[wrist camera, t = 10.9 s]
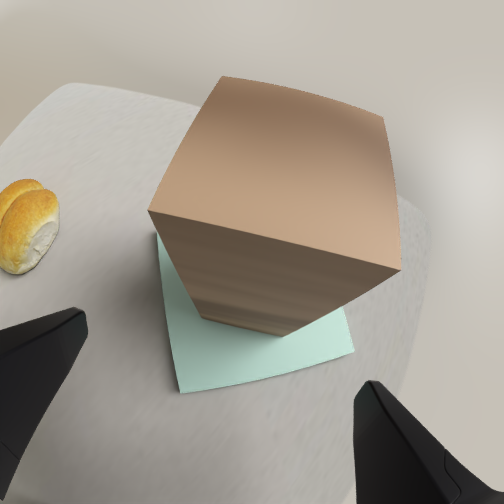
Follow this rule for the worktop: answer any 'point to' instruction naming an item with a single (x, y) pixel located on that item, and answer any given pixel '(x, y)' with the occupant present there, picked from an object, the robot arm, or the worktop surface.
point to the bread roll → (26, 224)
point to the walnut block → (278, 206)
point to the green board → (239, 342)
